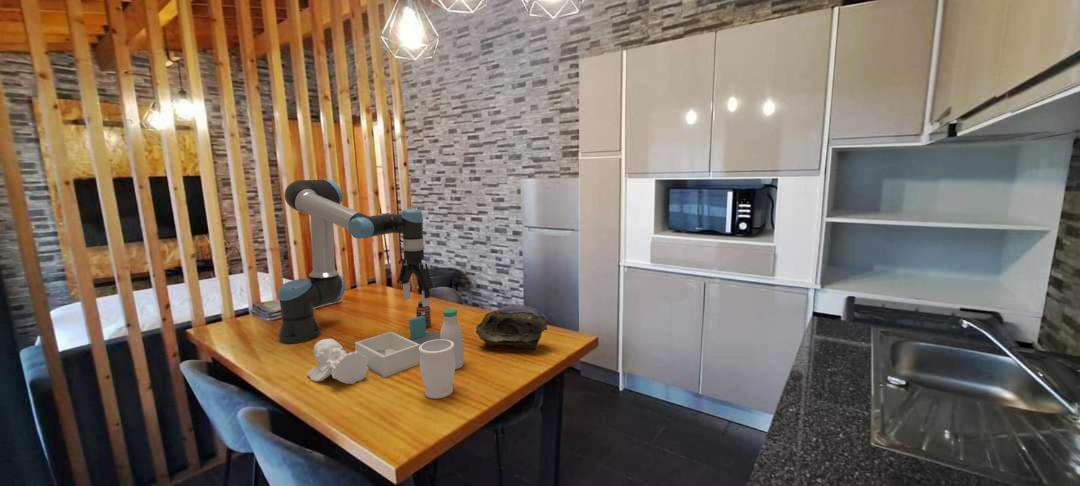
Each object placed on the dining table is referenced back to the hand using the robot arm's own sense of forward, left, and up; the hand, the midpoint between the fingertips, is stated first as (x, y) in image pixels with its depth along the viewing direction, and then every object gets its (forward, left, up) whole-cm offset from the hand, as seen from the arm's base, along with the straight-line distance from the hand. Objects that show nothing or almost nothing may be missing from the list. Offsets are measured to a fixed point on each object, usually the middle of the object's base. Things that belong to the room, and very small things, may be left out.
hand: (416, 302), depth 168 cm
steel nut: (+5, -20, -15) cm, 25 cm away
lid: (+8, 0, -16) cm, 18 cm away
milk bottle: (+29, -5, -16) cm, 34 cm away
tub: (+9, -18, -16) cm, 26 cm away
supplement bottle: (-13, +11, -16) cm, 24 cm away
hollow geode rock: (+33, +20, -17) cm, 42 cm away
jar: (+41, -19, -16) cm, 48 cm away
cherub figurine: (+6, -35, -17) cm, 39 cm away
